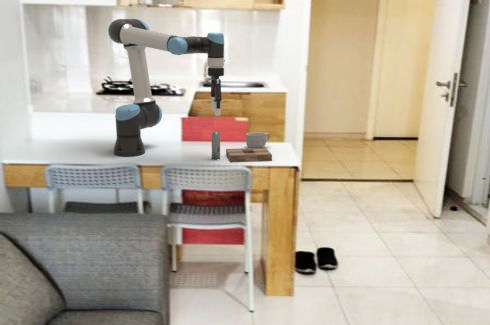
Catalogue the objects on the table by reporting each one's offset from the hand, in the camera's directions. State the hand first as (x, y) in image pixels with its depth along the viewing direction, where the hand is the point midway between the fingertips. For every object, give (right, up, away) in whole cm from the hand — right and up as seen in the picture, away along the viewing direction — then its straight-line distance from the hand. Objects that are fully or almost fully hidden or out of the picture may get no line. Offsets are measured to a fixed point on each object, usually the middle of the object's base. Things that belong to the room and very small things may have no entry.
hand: (216, 113), depth 249 cm
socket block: (+15, -21, +9) cm, 27 cm away
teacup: (+21, -16, +29) cm, 39 cm away
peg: (0, -22, +6) cm, 22 cm away
